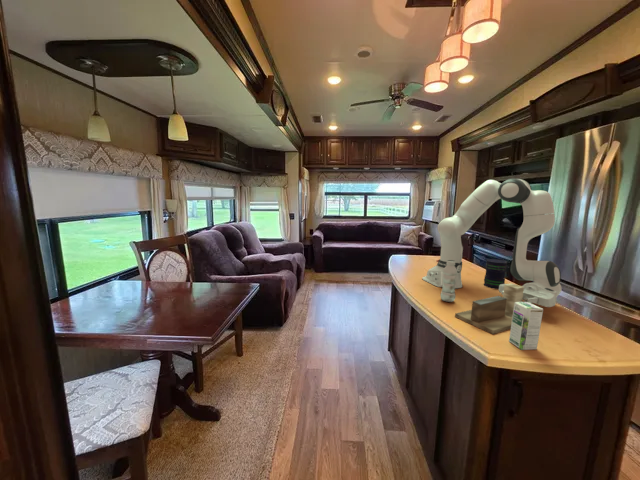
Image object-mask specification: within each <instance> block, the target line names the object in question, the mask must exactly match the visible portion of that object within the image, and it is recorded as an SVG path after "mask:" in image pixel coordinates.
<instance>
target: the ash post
mask: <svg viewBox="0 0 640 480" xmlns="http://www.w3.org/2000/svg"><path fill="white" fill-rule="evenodd" d="M505 284H506V285H504V291H503V295H502V297H504V298H507V301H506V309H505V315H506V316H509V317H511V318H512V317H513V310H514V303H515V302H523V291H524V287H522V286H523V285H518V284H515V283H512V282H511V283H505Z"/></svg>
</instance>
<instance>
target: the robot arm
mask: <svg viewBox="0 0 640 480" xmlns="http://www.w3.org/2000/svg"><path fill="white" fill-rule="evenodd" d="M552 199H553V198H552V196H551V193H549V192H548V191H546V190H543V189H542V190H540V189H538V190H533V189H532V185H531V184H530V183H529V182H528V181H526V180H524V179H521V178H508V179H506V180H505V181H503V182H502V183H501V182H500V181H497V180H495V179H487V180H486V181H484V182H483V183H481V184H480V185H479V186H478V187H477V188H476V189H474V191H473V192H471V193H470V194H469V195H468V196H467V198H466V199H465V200H464V201H462V203H461V204H460V206H459V208H458V209H457V211H456V212H455V213H454V215H452V216H451V217H445V218H443V219H442V220H441V221H439V223H438V224H437V232H438V234H439V239H440V255H439V256H440V258H439V259H436V260H435V261H436V263H437V264H436V265H435V266H432V267H431V268H429V269H428V270H427V272H426V275H425V276H422V278H421V279H422V280H423V281H424V282H427V283H428V284H431V285H433V286H435V287H439V288H442V287H443V269H444V268H445V267H446V266H447V264H446V263H447V260H454V261H455V265H454V266H455V268H456V269H457V277H456V282H455V289H461V288H463V283H462V281H463V280H462V269H463V261H462V260H463V252H464V251H463V250H464V246H463V243H462V238H461V237H462V236H463V235H465V234H466V233H467V232H468V230H470V228H471V227H472V226H473V225H474V224H475V222H476V221H477V220H478V219H479V218H480V217H481V216H482V215H483V214H484V213H485V212H486V211H487V210H488V209H489V208H491V206H492V205H493V204H495V202H497V201H499V200H502V201H504V202H507V203H515V204H520V205H521V206H522V212H523V222H522V224H521V225H520V226H519V227H518V228H517V229H516V232H515V237H514V246H513V253H512V260H511V263H510V264H511V265H510V268H509V269H510V274H511V276H513V277H514V278H515V279H516V280H517V281H532V282H526V283H524V284H523V285H521V286H522V287H524V291H523V299H522V301H524V302H529V303H531V304H534V305H535V304H536V305H539V306H541V307H545V308H552V307H555V306H556V303H557V298H558V296H559V295H560V294H561V292H562V285H561V284H560V283H561V278H562V273H561V272H562V271H561V269H560V267H559V266H558V265H557V264H556V263H555V262H553V261H552V260H534V259H533V260H531V259H527V249H528V245H529V242H530V241H531V240H532V239H533V238H535V237H539V236H541V235H543V234H545V233H547V232H549V231H551V229H552V228H553V227H554V226H555V220H556V217H555V207H554V203H553V200H552ZM506 284H507V283H505V284H500V285H499V289H498V292H499V293H501V295H502V296H503V291H504V285H506Z"/></svg>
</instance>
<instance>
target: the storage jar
mask: <svg viewBox="0 0 640 480" xmlns="http://www.w3.org/2000/svg"><path fill="white" fill-rule="evenodd" d="M507 265H508V261H506V260H503V259H496V258H487V259H486V263H485V275H484V279H483V282H484V283H483V286H484V287H486V288H489V289H493V290H499V285H500V284H506V283H505V282H506V278H505V276H506V272H507Z"/></svg>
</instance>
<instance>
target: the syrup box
mask: <svg viewBox="0 0 640 480" xmlns="http://www.w3.org/2000/svg"><path fill="white" fill-rule="evenodd" d="M543 313H544V308H542V307H539V306H537V304H536V305H535V304H534V303H529V302H525V301H522V302H515V303H514V310H513V317H512V324H511V329H510V332H509V338H508V342H509V343H510V344H512V345H514V346H516V347H517V349H519V350H521V351H527V350H528V351H529V350H530V351H531V350H532V351H533V350H537V349H538V343H539V339H540V338H539V337H540V332H541V331H540V330H541V326H542V325H541V324H542V319H543V315H544V314H543Z"/></svg>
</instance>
